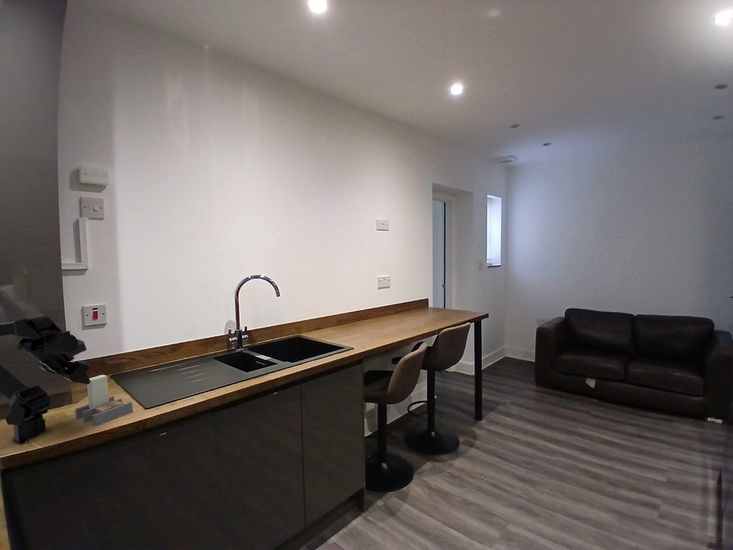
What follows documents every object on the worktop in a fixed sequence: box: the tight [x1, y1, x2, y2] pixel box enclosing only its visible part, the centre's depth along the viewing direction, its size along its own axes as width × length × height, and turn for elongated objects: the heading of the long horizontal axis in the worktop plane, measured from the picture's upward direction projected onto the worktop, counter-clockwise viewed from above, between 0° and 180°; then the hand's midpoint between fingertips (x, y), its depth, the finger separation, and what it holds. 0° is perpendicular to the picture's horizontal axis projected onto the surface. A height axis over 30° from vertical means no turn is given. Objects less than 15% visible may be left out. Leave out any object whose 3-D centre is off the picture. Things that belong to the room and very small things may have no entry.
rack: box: [74, 395, 134, 427], centre depth 129 cm, size 12×12×4 cm
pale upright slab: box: [86, 374, 110, 409], centre depth 130 cm, size 5×3×13 cm, turn 152°
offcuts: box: [90, 401, 125, 421], centre depth 128 cm, size 9×4×4 cm, turn 152°
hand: (81, 379), depth 125 cm, fingers open, 9 cm apart
